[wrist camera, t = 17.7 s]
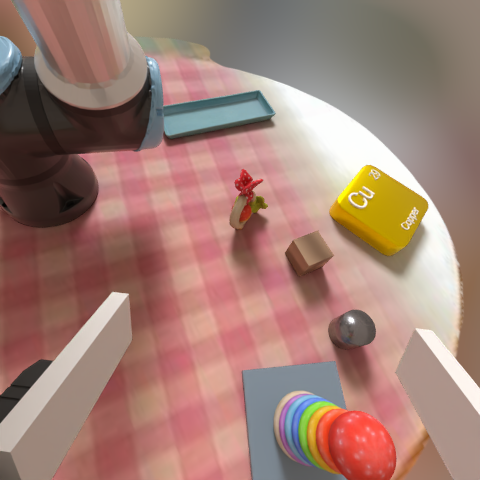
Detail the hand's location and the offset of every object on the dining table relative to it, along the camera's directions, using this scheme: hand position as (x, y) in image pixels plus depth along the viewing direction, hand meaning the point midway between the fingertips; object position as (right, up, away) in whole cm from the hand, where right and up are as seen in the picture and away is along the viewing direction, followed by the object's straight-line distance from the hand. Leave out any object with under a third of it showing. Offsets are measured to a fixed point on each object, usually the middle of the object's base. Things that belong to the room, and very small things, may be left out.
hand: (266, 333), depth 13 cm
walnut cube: (+10, +1, +37) cm, 38 cm away
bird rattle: (-1, +8, +39) cm, 40 cm away
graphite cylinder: (+15, -11, +32) cm, 37 cm away
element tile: (+26, +10, +45) cm, 53 cm away
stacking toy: (+7, -20, +24) cm, 32 cm away
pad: (+7, -21, +25) cm, 33 cm away
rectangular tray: (-7, +33, +52) cm, 62 cm away
